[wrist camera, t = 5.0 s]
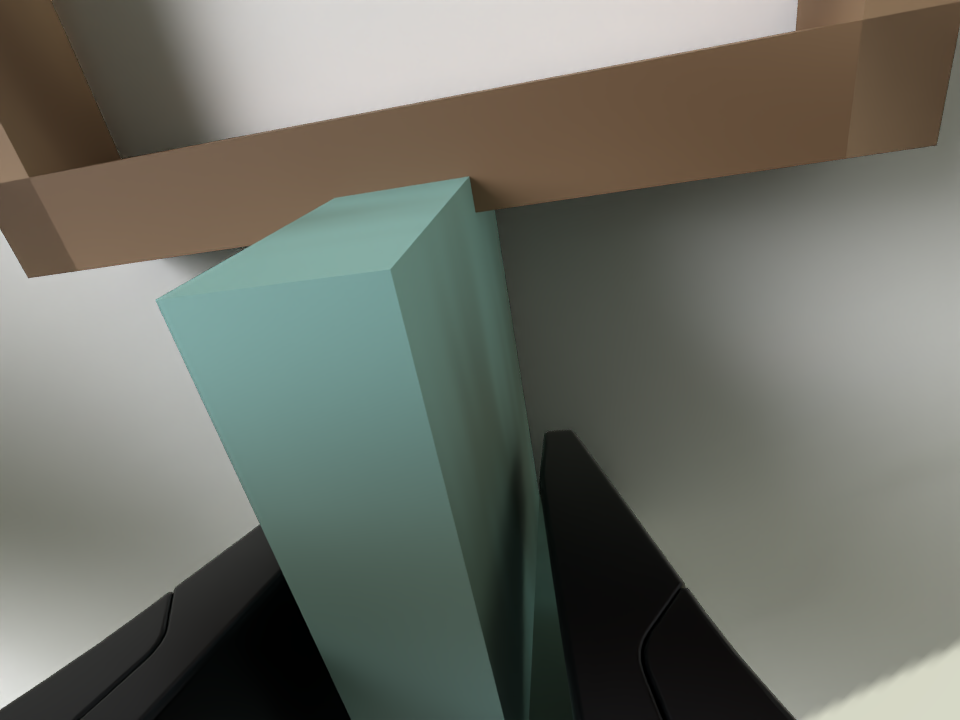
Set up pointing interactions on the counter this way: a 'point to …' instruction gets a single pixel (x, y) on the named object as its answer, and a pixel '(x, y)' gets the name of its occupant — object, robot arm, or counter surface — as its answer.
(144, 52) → the counter surface
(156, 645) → the robot arm
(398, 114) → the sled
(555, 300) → the counter surface
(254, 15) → the counter surface
